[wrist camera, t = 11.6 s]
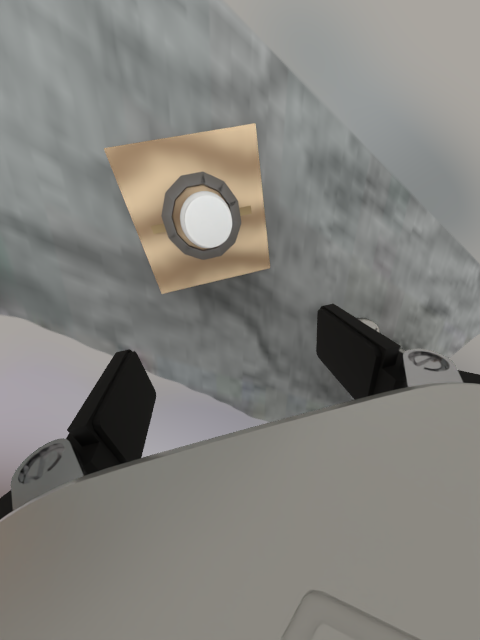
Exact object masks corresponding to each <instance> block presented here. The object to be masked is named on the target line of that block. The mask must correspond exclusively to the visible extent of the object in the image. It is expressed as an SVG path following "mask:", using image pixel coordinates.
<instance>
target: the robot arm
mask: <svg viewBox="0 0 480 640" xmlns="http://www.w3.org/2000/svg"><path fill="white" fill-rule="evenodd" d="M316 352H317V355H318V357H319V359H320V360H321V361H322V362H323V363H324V364H325V366H326V367H327V368H328V369H329V370H330V371H331V372H332V374H333V375H334V376H335V377H336V378H337V379H338V381H339V382H340V383H341V384H342V385H343V386H344V388H345V389H346V390H347V391H348V392H349V393H350V395H351V396H352V397H353V398H354V399H355V400H352V401H348V402H344V403H341V404H337V405H333V406H329V407H326V408H322V409H318V410H314V411H311V412H307V413H303V414H299V415H296V416H292V417H288V418H284V419H281V420H277V421H273V422H270V423H266V424H263V425H259V426H255V427H251V428H248V429H244V430H240V431H237V432H233V433H229V434H226V435H222V436H218V437H215V438H211V439H208V440H204V441H200V442H197V443H193V444H190V445H186V446H183V447H179V448H175V449H172V450H168V451H164V452H161V453H157V454H154V455H150V456H147V457H143V458H141V456H142V452H143V448H144V444H145V440H146V436H147V432H148V428H149V424H150V420H151V416H152V412H153V408H154V403H155V399H156V392H155V389H154V387H153V385H152V383H151V381H150V379H149V377H148V375H147V373H146V371H145V369H144V367H143V365H142V363H141V361H140V359H139V357H138V355H137V353H136V352H132V351H131V350H125V351H120V352H116V353H115V355H114V356H113V358H112V360H111V361H110V363H109V364H108V366H107V368H106V369H105V371H104V373H103V374H102V376H101V377H100V379H99V380H98V382H97V383H96V385H95V387H94V388H93V390H92V391H91V393H90V395H89V396H88V398H87V399H86V401H85V402H84V404H83V406H82V407H81V409H80V410H79V412H78V414H77V415H76V417H75V418H74V420H73V421H72V423H71V425H70V426H69V428H68V429H67V431H68V432H69V435H68V437H67V438H66V439H57V440H54V441H51V442H49V443H47V444H45V445H43V446H42V447H40V448H38V449H37V450H36V451H35V452H33V453H32V454H31V455H30V456H29V457H28V458H26V459H25V461H23V462H22V464H21V465H20V466H19V467H18V469H17V470H16V472H15V473H14V475H13V477H12V481H11V491H9V492H8V493H7V494H5V495H4V496H3V497H1V498H0V640H480V375H478V374H473V373H469V372H464V371H459V370H457V368H456V365H455V364H454V363H453V361H452V360H450V359H449V358H447V357H446V356H444V355H442V354H440V353H437V352H434V351H431V350H426V349H410V350H407V351H404V350H402V349H401V348H400V345H398V344H396V343H395V342H393V341H392V340H390V339H389V338H387V337H385V336H384V335H382V334H381V333H380V332H379V328H378V326H377V325H376V324H375V323H374V322H372V321H371V320H368V319H357V318H355V317H354V316H352V315H350V314H349V313H347V312H346V311H344V310H343V309H341V308H339V307H338V306H336V305H335V304H330V305H325V306H322V307H321V308H320V310H318V317H317V347H316Z"/></svg>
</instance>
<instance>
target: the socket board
mask: <svg viewBox="0 0 480 640" xmlns="http://www.w3.org/2000/svg"><path fill="white" fill-rule="evenodd" d="M104 150H105V153H106V155H107V158H108V160H109V163H110V165H111V168H112V170H113V173H114V175H115V178H116V180H117V183H118V185H119V188H120V190H121V193H122V195H123V198H124V200H125V203H126V205H127V208H128V210H129V213H130V215H131V218H132V220H133V223H134V225H135V228H136V230H137V233H138V235H139V238H140V240H141V243H142V245H143V248H144V250H145V253H146V255H147V258H148V260H149V263H150V265H151V268H152V270H153V273H154V275H155V278H156V280H157V283H158V285H159V288H160V291H161V293H162V294H164V293H168V292H172V291H176V290H180V289H185V288H189V287H193V286H197V285H201V284H205V283H210V282H214V281H218V280H222V279H226V278H231V277H235V276H239V275H243V274H247V273H251V272H256V271H260V270H264V269H268V268H270V262H269V252H268V242H267V232H266V222H265V213H264V203H263V193H262V183H261V173H260V164H259V154H258V144H257V134H256V124H249V125H243V126H237V127H230V128H224V129H218V130H212V131H206V132H200V133H194V134H188V135H182V136H176V137H170V138H164V139H158V140H151V141H145V142H139V143H133V144H127V145H121V146H115V147H109V148H104ZM199 191H209V192H212V193H215V194H217V195H218V196H220V197H221V198H222V199H223V200H224V201H225V202H226V204H227V205H228V207H229V209H230V212H231V216H232V229H231V233H230V235H229V237H228V238H227V240H226V241H225V242H224V243H222V244H221V245H219V246H217V247H214V248H202V247H199V246H197V245H195V244H193V243H192V242H191V241H190V240H189V239H188V238H187V237H186V235H185V234H184V232H183V230H182V227H181V223H180V212H181V208H182V206H183V204H184V202H185V200H186V199H187V198H188V197H189V196H191V195H192V194H194V193H196V192H199Z"/></svg>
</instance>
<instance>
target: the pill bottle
mask: <svg viewBox="0 0 480 640" xmlns="http://www.w3.org/2000/svg"><path fill="white" fill-rule="evenodd" d="M180 223H181V227H182V230H183V232H184V234H185V235H186V237H187V238H188V239H189V240H190V241H191V242H192V243H193V244H195V245H197V246H199V247H202V248H214V247H217V246H219V245H221V244H222V243H224V242H225V241H226V240H227V238H228V237H229V235H230V233H231V229H232V216H231V212H230V209H229V207H228V205H227V204H226V202H225V201H224V200H223V199H222V198H221V197H220V196H218V195H217V194H215V193H212V192H209V191H199V192H196V193H194V194H192V195H191V196H189V197H188V198H187V199H186V200H185V202H184V204H183V206H182V208H181V212H180Z"/></svg>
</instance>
